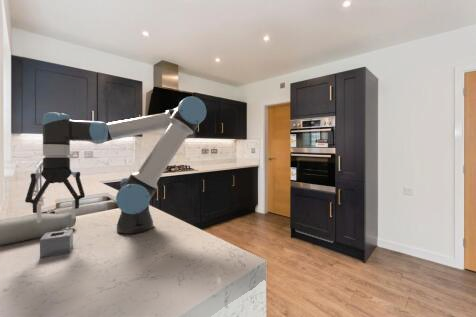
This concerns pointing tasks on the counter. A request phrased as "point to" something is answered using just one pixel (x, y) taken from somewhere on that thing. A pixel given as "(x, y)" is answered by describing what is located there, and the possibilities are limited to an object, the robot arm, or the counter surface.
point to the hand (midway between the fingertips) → (57, 219)
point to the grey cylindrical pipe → (33, 226)
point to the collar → (56, 243)
